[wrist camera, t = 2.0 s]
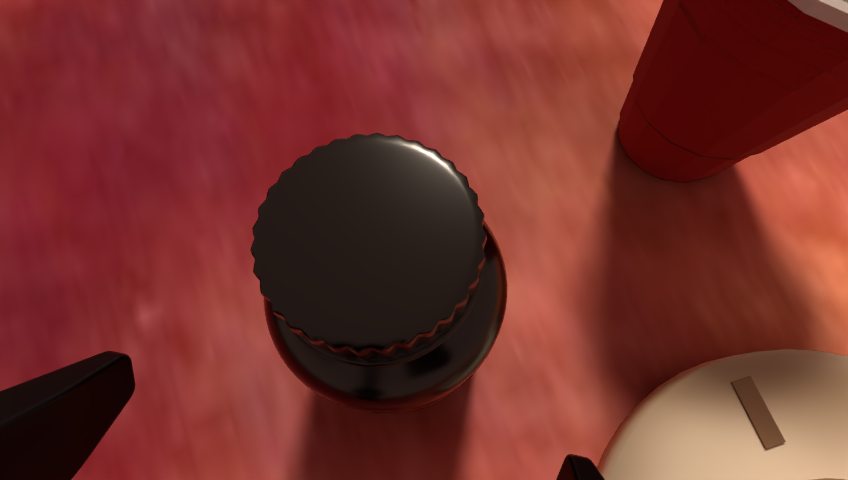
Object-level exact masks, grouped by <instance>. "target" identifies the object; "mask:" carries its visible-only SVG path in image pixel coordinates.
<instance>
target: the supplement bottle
mask: <svg viewBox="0 0 848 480" xmlns="http://www.w3.org/2000/svg"><path fill="white" fill-rule="evenodd" d="M258 215H259V217H258V220H257V221H256V223H255V225H254V227H253V228H252V229H253V235H254V238H255V239H254V241H253V244H252V247H251V253H252V255H253V257H254V258H255V262H254V269H253V272H254V274H255V275H256V277H257V278H258V279H259V280H260V290H261V294H262V296H264V309H265V316H266V321H267V325H268V329H269V332H270V335H271V338H272V340H273V343H274V345H275V347H276V349H277V351H278V353H279V354H280V356H281V358H282V359H283V361H284V362H285V364H286V365H287V367H288V368H289V369H290V370H291V371H292V372H293V374H294V375H295V376H296V377H297V378H298V379H299V380H300V381H301V382H303V383H304V384H305V385H306V386H307V387H309V388H310V389H311V390H313V391H314V392H316V393H317V394H319V395H321V396H322V397H324V398H326V399H328V400H330V401H332V402H335V403H337V404H339V405H342V406H345V407H348V408H352V409H356V410H361V411H368V412H375V413H396V412H408V411H415V410H419V409H423V408H426V407H429V406H431V405H433V404H435V403H437V402H439V401H441V400H442V399H444V398H445V397H447V396H448V395H449V394H451V393H452V392H453V391H455V390H456V389H457V388H458V387H460V386H461V385H462V384H463V383H464V382H465V381H466V380H468V379H469V378H470V377H471V376H472V375H473V373H474V372H475V371H476V370H477V369H478V368H479V367H480V365H481V364H482V363H483V361H484V360H485V359H486V357H487V356H488V354H489V352H490V350H491V349H492V347H493V345H494V343H495V341H496V338H497V336H498V334H499V331H500V328H501V325H502V322H503V319H504V314H505V310H506V302H507V277H506V270H505V265H504V261H503V257H502V254H501V251H500V248H499V246H498V243H497V241H496V239H495V237H494V235H493V233H492V231H491V230H490V228H489V227H488V225H487V224H486V222H485V221H484V214H483V212H482V210H481V209H480V207H479V206H478V196H477V194H476V193H475V192H474V191H473V190H472V189H471V188H470V187H469V184H468V180H467V177H466V176H464V175H463V174H462V173H460V172H458V171H457V170H456V167H455V165H454V163H453V162H452V161H450V160H447V159H445V158H442V156H441V155H440V153H439V152H438V151H437V150H435V149H431V148H426V147H424V146H423V145H422V144H421V143H420V142H419V141H413V140H405V139H404V138H403V137H401V136H399V135H393V136H385V135H383V134H380V133H374V134H371V135H367V136H366V135H360V134H355V135H353V136H351V137H349V138H347V139H335V140H333V141H332V142H331V143H329V144H328V145H324V146H319V147H316V148H315V149H314V150H312V152H311V153H310V154H309V155H305V156H302V157H300V158H298V159H297V160H296V162H295V163H294V164H293V166H292V167H291V168H289V169H287V170H285V171H283V172H282V173H281V175H280V177H279V180H278V182H277V183H275V184H274V185H273V186H272V187H270V188H269V189H268V193H267V198H266V200H265V201H264V202H263V203H262V204H261V206H260V207H259V209H258Z"/></svg>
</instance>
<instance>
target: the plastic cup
mask: <svg viewBox="0 0 848 480" xmlns="http://www.w3.org/2000/svg"><path fill="white" fill-rule="evenodd" d="M846 110H848V0H664V1H663V3H662V5H661V8H660V10H659V13H658V15H657V18H656V20H655V23H654V25H653V28H652V30H651V32H650V35H649V37H648V40H647V42H646V45H645V47H644V50H643V52H642V55H641V57H640V60H639V62H638V64H637V67H636V69H635V72H634V74H633V82H632V85H631V87H630V90H629V92H628V95H627V97H626V100H625V102H624V104H623V107H622V109H621V112H620V119H619V140H620V142H621V144H622V146H623V148H624V150H625V152H626V154H627V156H628V157H629V158H631V159H632V160H633V161H634V162H635V163H636V164H637V165H638V166H639V167H640V168H641V169H642V170H644V171H646V172H648V173H650V174H652V175H654V176H657V177H659V178H661V179H663V180H670V181H678V182H688V181H692V180H696V179H700V178H704V177H706V176H710V175H714V174H716V173H718V172H720V171H722V170H724V169H726V168H728V167H730V166H732V165H734V164H735V163H737V162H739V161H741V160H743V159H745V158H747V157H749V156H751V155H755V154H759V153H761V152H763V151H765V150H767V149H769V148H771V147H773V146H775V145H777V144H779V143H781V142H783V141H785V140H787V139H789V138H791V137H793V136H795V135H797V134H799V133H801V132H803V131H805V130H807V129H809V128H811V127H813V126H816V125H818V124H820V123H822V122H824V121H826V120H828V119H830V118H832V117H834V116H836V115H838V114H840V113H842V112H844V111H846Z"/></svg>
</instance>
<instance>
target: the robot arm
mask: <svg viewBox="0 0 848 480" xmlns="http://www.w3.org/2000/svg"><path fill="white" fill-rule="evenodd" d="M134 389H135V379H134V373H133V367H132V361H131V358H130V357H129V356H128V355H126V354H123V353H118V352H114V351H106V352H103V353H100V354H98V355H95V356H92V357H90V358H87V359H84V360H82V361H79V362H77V363H74V364H71V365H69V366H66V367H63V368H61V369H58V370H55V371H53V372H50V373H48V374H45V375H42V376H40V377H37V378H34V379H32V380H29V381H26V382H24V383H21V384H19V385H16V386H13V387H11V388H8V389H5V390H3V391H0V480H71V479H72V478H73V477H74V475H75V474H76V473H77V472H78V470H79V469H80V468H81V467H82V465H83V464H84V463H85V461H86V460H87V459H88V457H89V456H90V455H91V453H92V452H93V450H94V449H95V448H96V446H97V445H98V443H99V442H100V441H101V439H102V438H103V436H104V435H105V433H106V432H107V431H108V429H109V428H110V426H111V425H112V424H113V422H114V421H115V419H116V418H117V416H118V415H119V414H120V412H121V411H122V409H123V408H124V407H125V405H126V404H127V402H128V401H129V399H130V398H131V396H132V395H133V392H134ZM556 480H605V479H604V478H603V476H602V475H601V473H600V472H599V471H598V469H597V468H596V466H595V465H594V463H593V462H592V461H591V460H590V459H588V458H586V457H582V456H577V455H573V454H569V455H567V456H566V458H565V460H564V462H563V464H562V467H561V469H560V472H559V474H558V477H557V479H556Z"/></svg>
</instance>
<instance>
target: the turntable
mask: <svg viewBox="0 0 848 480" xmlns="http://www.w3.org/2000/svg"><path fill="white" fill-rule="evenodd" d="M597 469H598V471H599V472H600V473H601V475H602V476H603V478H604V479H605V480H848V356H845V355H839V354H834V353H828V352H822V351H816V350H797V349H779V350H769V351H758V352H751V353H745V354H739V355H733V356H728V357H724V358H720V359H716V360H712V361H708V362H704V363H702V364H699V365H697V366H695V367H692V368H690V369H687V370H685V371H682V372H680V373H679V374H677V375H675V376H674V377H672V378H671V379H669V380H667V381H666V382H664V383H662V384H661V385H659V386H658V387H657V388H656V389H654V390H653V391H652V392H651V393H650V394H648V395H647V396H646V397H645V398H644V399H643V400H641V401H640V402H639V403H638V404H637V405H636V407H635V408H634V409H633V410H632V411H631V412H630V414H629V415H628V416H627V417H626V418H625V419H624V421H623V422H622V423H621V424H620V426H619V427H618V429H617V431H616V432H615V434H614V435H613V437H612V439H611V440H610V442H609V443H608V445H607V447H606V448H605V450H604V452H603V455H602V457H601V459H600V462H599V464H598V466H597Z"/></svg>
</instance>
